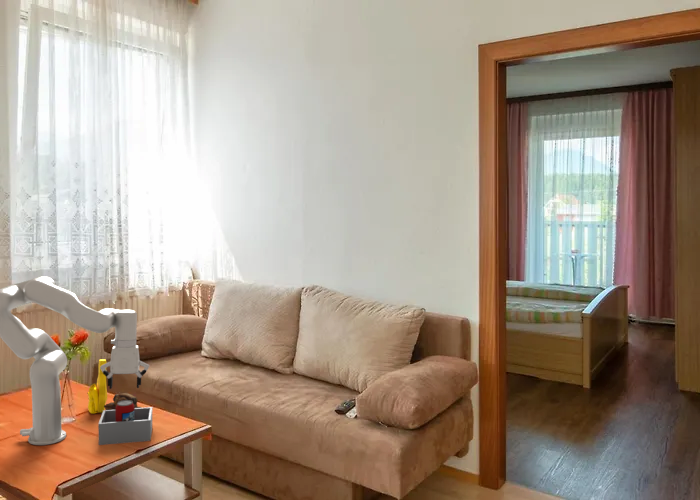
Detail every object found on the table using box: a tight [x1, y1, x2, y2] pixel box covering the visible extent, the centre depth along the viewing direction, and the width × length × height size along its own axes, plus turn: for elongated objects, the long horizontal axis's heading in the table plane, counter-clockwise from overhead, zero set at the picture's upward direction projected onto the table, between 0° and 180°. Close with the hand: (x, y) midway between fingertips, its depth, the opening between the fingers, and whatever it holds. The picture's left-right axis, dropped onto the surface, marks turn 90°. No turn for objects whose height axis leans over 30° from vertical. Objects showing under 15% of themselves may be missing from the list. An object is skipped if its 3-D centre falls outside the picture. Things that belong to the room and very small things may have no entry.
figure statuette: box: [86, 358, 108, 414], centre depth 247 cm, size 18×8×22 cm, turn 33°
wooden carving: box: [104, 392, 143, 410], centre depth 241 cm, size 16×5×10 cm, turn 81°
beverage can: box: [115, 400, 135, 422], centre depth 223 cm, size 7×7×12 cm
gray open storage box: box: [97, 406, 153, 446], centre depth 224 cm, size 18×14×8 cm
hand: (124, 387), depth 222 cm, fingers open, 9 cm apart
